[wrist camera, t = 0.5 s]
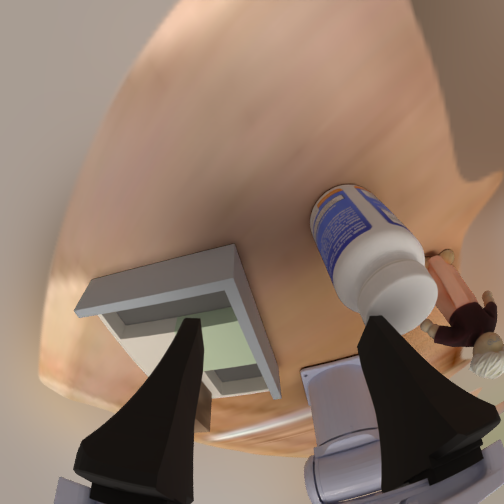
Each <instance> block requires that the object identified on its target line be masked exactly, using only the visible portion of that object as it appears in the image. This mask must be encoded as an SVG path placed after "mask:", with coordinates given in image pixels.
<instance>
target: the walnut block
mask: <svg viewBox="0 0 504 504" xmlns="http://www.w3.org/2000/svg"><path fill="white" fill-rule="evenodd" d="M211 402H212V393H211V392H210V391H209V389H208V388H207V387H206V385H205V384H204V383H203V382H202V381H201V386H200V392H199V398H198V404H197V410H196V416H195V425H194V433H196V432H210V420H211Z"/></svg>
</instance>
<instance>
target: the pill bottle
mask: <svg viewBox="0 0 504 504" xmlns="http://www.w3.org/2000/svg"><path fill="white" fill-rule="evenodd" d="M310 228H311V232H312V235H313V238H314V240H315V243H316V245H317V247H318V250H319V252H320V254H321V256H322V259H323V261H324V263H325V266H326V268H327V271H328V273H329V275H330V278H331V281H332V283H333V286H334V288H335V290H336V293H337V295H338V297H339V299H340V300H341V301H342V303H343V304H344V305H345V306H347V307H348V308H349V309H351V310H353V311H355V312H358V313H360V315H361V317H362V319H363V322H364V324H365V326H366V325H367V322H368V320H369V317H370V316H378V315H382V316H383V317H384V318H385V319H386V320H387V321H388V322H389V323H390V324H391V325H392V326H393V327H394V328H395V329H396V330H397V331H398V333H399V334H400V335H403V334H405V333H407V332H409V331H411V330H413V329H414V328H416V327H417V326H418V325H420V324H421V323H422V322H423V321H424V320H425V319H426V318H427V317H428V315H429V314H430V313H431V311H432V310H433V308H434V306H435V304H436V301H437V297H438V288H437V285H436V283H435V281H434V279H433V278H432V276H431V275H430V273H429V272H428V270H427V269H426V267H425V256H424V251H423V248H422V246H421V244H420V242H419V241H418V240H417V238H416V237H415V236H414V235H413V234H412V233H411V232H410V231H409V230H408V229H407V228H406V226H405V225H404V224H403V223H402V222H401V221H400V220H399V219H398V218H397V217H396V216H395V215H394V214H393V213H392V212H391V211H390V210H389V209H388V208H387V207H386V206H385V205H384V204H383V203H382V202H381V201H380V200H379V199H377V198H376V197H375V196H374V195H373V194H372V193H371V192H370V191H368V190H367V189H365V188H363V187H360V186H357V185H341V186H337V187H334V188H332V189H330V190H329V191H327V192H326V193H324V194H323V195H322V196H321V197H320V198H319V200H318V201H317V202H316V204H315V206H314V208H313V210H312V213H311V218H310Z"/></svg>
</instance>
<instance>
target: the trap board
mask: <svg viewBox="0 0 504 504" xmlns="http://www.w3.org/2000/svg"><path fill="white" fill-rule="evenodd" d="M74 312H75V313H76V314H77V316H78V317H79V318H82V317H88V316H94V315H98V316H99V318H100V319H101V320H102V322H103V323H104V324H105V326H106V327H107V328H108V330H109V331H110V332H111V333H112V335H113V336H114V337H115V339H116V340H117V341H118V342H119V344H120V345H121V346H122V347H123V348H124V350H125V351H126V352H127V353H128V354H129V356H130V357H131V358H132V359H133V360H134V361H135V363H136V364H137V365H138V366H139V367H140V368H141V369H142V371H143V372H144V373H145V374H146V375H147V376H148V377H149V376H150V375H151V373H152V372H153V370H154V369H155V368H156V366H157V365H158V363H159V362H160V360H161V359H162V357H163V356H164V354H165V352H166V351H167V349H168V348H169V346H170V344H171V343H172V341H173V339H174V337H175V335H176V334H177V332H178V330H179V328H180V326H181V324H182V321H183V319H185V318H200V319H201V327H202V335H203V343H204V364H203V375H202V382H203V383H204V384H205V385H206V387H207V388H208V389H209V391H210V392H211V393H212V398H222V397H231V396H239V395H247V394H254V393H260V392H267V391H270V393H271V395H272V397H273V399H274V400H275V399H281V389H280V379H279V370H278V365H277V362H276V360H275V357H274V354H273V351H272V349H271V346H270V343H269V340H268V337H267V335H266V332H265V329H264V326H263V323H262V321H261V318H260V315H259V312H258V309H257V306H256V304H255V301H254V298H253V295H252V292H251V289H250V287H249V284H248V281H247V278H246V275H245V272H244V269H243V267H242V264H241V261H240V258H239V255H238V252H237V249H236V246H235V244H231V245H227V246H223V247H219V248H215V249H211V250H207V251H202V252H198V253H194V254H190V255H186V256H182V257H178V258H174V259H170V260H166V261H162V262H159V263H155V264H151V265H147V266H143V267H139V268H135V269H131V270H127V271H123V272H119V273H115V274H112V275H108V276H104V277H100V278H96V279H92V280H91V282H90V283H89V285H88V287H87V288H86V290H85V292H84V293H83V295H82V297H81V299H80V300H79V302H78V304H77V306H76V308H75V309H74Z"/></svg>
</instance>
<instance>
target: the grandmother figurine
mask: <svg viewBox="0 0 504 504" xmlns="http://www.w3.org/2000/svg"><path fill="white" fill-rule="evenodd" d="M453 260H454V254H453V251H452V250H444V251H443V252H442V253H441V254H440V255H439V256H437V255H436V256H433V257H431V258H429V257H426V258H425V267H426V269H427V270H428V272H429V273H430V275H431V276H432V278H433V279H434V281H435V283H436V285H437V288H438V297H437V301H436V304H435V305H436V306H437V308H438V309H439V310H440V312H441V313H442V314H443V316H444V317H445V318H446V320H447V321H448V323H449V324H450V325H451V327H448V326H439V325H437V324H433V323H432V321H431V320H429V319H425V320H424V321H423V322H422V323H421V324H420V328H421V330H422V331H424V332H427V333H428V335H429V336H430V337H432V338H433V339H434V343H438V344H443V345H447V346H451V347H474V348H473V358H472V361H471V364H470V368H469V370H470V371H472V372H473V373H475V374H476V375H478V376H480V377H483V378H489V379H495V378H497V377H499V376H500V375H501V374H502V373H504V344H503V342H502V339H501V338H500V336H499V335H498V334H496V333H494V330H495V327H496V322H497V306H496V304H495V302H494V299H493V298H492V293H491V292H490V291H485V292H484V293H483V295H482V299H483V301H484V306H485V308H482V307H481V306H480V305H479V304H478V302H477V299H476V297H475V296H474V294H473V293H472V291H471V290H470V289H469V287H468V286H467V285H466V283H465V282H464V280H463V279H462V277H461V276H460V274H459V273H458V271H457V270H456V269H455V268H454V266H452V263H453Z"/></svg>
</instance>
